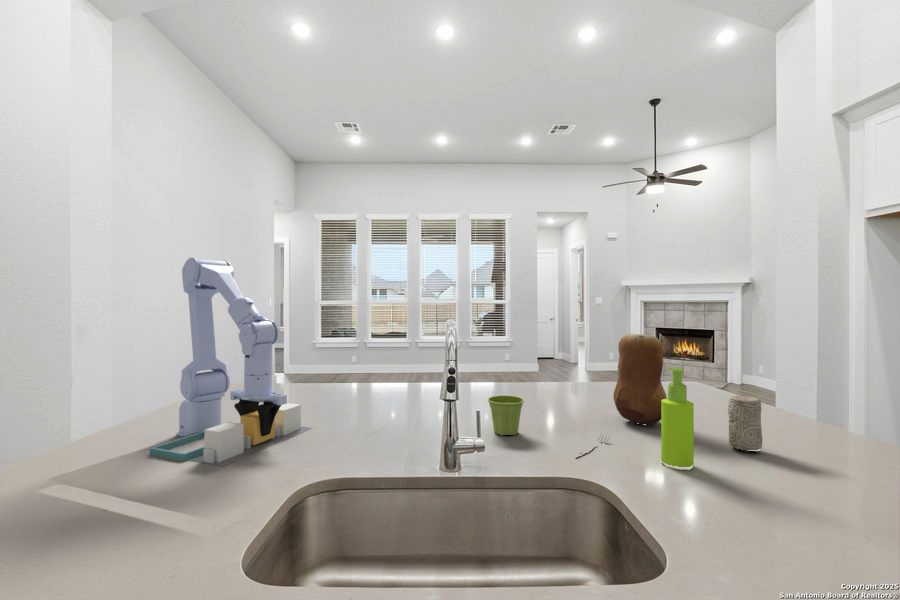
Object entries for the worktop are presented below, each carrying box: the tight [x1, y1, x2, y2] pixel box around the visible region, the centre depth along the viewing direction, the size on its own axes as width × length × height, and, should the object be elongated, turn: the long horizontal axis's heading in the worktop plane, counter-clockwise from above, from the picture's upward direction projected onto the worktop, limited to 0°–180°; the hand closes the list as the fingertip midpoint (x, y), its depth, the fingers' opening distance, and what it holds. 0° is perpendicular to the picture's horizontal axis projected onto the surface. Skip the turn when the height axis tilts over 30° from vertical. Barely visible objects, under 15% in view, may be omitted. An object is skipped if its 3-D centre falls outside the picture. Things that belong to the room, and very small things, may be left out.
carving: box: [727, 395, 764, 451], centre depth 97 cm, size 6×8×12 cm
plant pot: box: [487, 394, 525, 436], centre depth 109 cm, size 9×9×9 cm
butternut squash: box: [613, 332, 668, 426], centre depth 118 cm, size 14×13×25 cm
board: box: [187, 424, 313, 468], centre depth 96 cm, size 9×27×4 cm, turn 160°
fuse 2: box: [275, 402, 302, 435], centre depth 105 cm, size 4×6×6 cm, turn 160°
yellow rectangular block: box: [240, 411, 275, 445], centre depth 96 cm, size 4×6×6 cm, turn 160°
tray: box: [149, 431, 205, 462], centre depth 93 cm, size 10×14×3 cm
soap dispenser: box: [660, 366, 695, 467], centre depth 88 cm, size 6×7×20 cm
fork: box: [580, 433, 610, 454], centre depth 97 cm, size 3×16×2 cm, turn 137°
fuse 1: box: [203, 421, 244, 462], centre depth 88 cm, size 4×6×6 cm, turn 160°
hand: (257, 433), depth 96 cm, fingers closed on yellow rectangular block, 4 cm apart
